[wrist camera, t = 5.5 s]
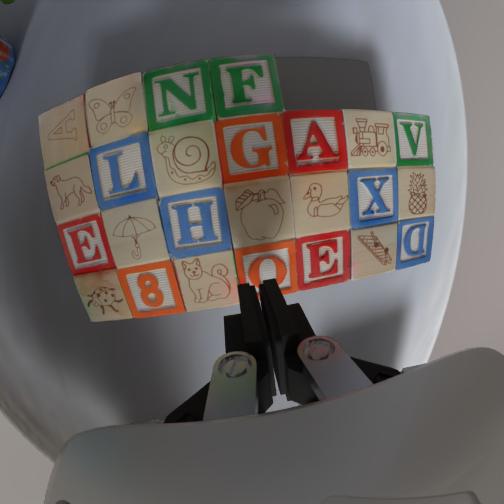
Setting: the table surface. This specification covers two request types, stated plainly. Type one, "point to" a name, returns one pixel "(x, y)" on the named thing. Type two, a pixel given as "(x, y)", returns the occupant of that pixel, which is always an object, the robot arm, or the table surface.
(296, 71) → the rubber mat
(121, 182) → the stack of blocks
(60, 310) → the table surface
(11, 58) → the snack cup
